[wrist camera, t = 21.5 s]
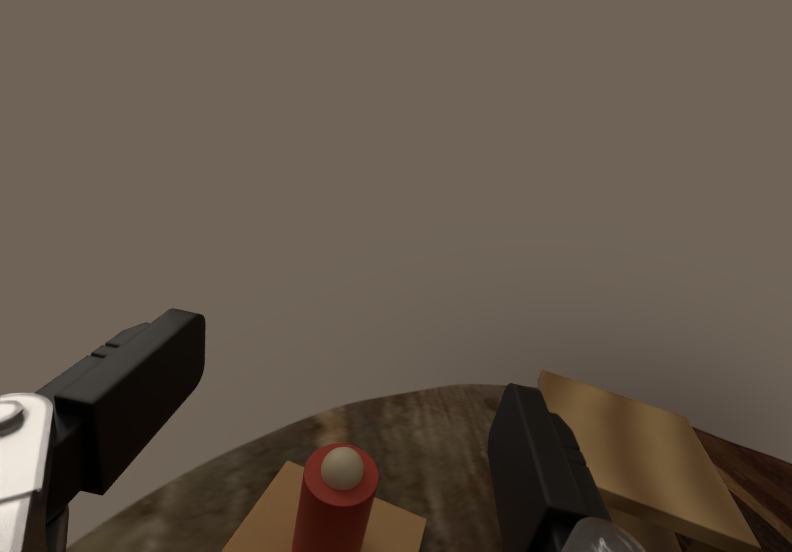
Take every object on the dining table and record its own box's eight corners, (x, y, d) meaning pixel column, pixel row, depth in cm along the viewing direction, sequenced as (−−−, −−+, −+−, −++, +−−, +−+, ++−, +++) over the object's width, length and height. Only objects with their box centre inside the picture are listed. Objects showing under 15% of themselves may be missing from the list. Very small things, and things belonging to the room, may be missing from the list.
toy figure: (369, 531, 29) (392, 442, 26) (343, 596, 25) (367, 500, 22) (311, 505, 30) (327, 416, 27) (278, 565, 26) (292, 467, 23)
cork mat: (425, 524, 31) (427, 519, 31) (385, 682, 22) (387, 676, 22) (286, 465, 34) (287, 460, 34) (199, 586, 25) (199, 580, 24)
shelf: (636, 500, 38) (686, 416, 34) (681, 647, 27) (762, 548, 23) (507, 452, 40) (541, 369, 37) (501, 570, 29) (549, 468, 26)
